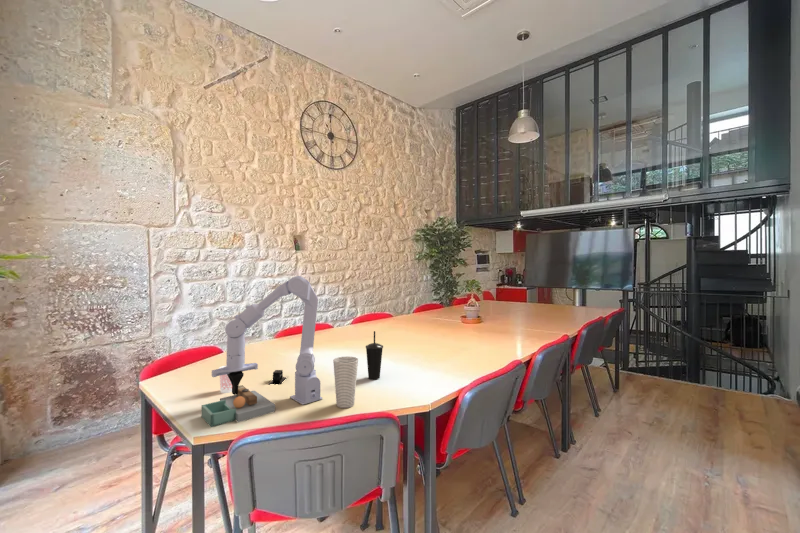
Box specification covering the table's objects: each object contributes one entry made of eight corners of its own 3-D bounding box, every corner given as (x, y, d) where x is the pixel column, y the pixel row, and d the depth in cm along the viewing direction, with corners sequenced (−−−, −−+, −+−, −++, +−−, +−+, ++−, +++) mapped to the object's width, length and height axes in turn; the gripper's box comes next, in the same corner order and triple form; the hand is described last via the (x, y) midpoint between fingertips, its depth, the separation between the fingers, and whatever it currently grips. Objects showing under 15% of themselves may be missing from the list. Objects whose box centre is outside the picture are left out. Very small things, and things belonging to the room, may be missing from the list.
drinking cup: (382, 380, 143) (382, 333, 143) (364, 380, 143) (364, 332, 143) (383, 375, 151) (383, 329, 151) (366, 375, 151) (366, 329, 151)
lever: (257, 403, 111) (257, 394, 111) (249, 405, 109) (249, 396, 109) (242, 391, 122) (242, 383, 122) (234, 393, 120) (234, 385, 120)
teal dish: (235, 420, 105) (235, 408, 105) (210, 427, 100) (211, 415, 100) (225, 410, 112) (225, 399, 112) (201, 416, 107) (201, 405, 107)
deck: (274, 411, 111) (274, 404, 111) (237, 422, 103) (238, 414, 103) (254, 397, 124) (254, 390, 124) (219, 405, 116) (219, 398, 116)
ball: (246, 407, 108) (247, 396, 108) (235, 410, 106) (235, 399, 106) (243, 404, 111) (243, 393, 111) (231, 407, 109) (231, 396, 109)
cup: (327, 404, 117) (328, 359, 118) (348, 398, 123) (348, 355, 124) (342, 412, 111) (342, 364, 112) (362, 405, 117) (363, 359, 117)
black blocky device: (282, 387, 136) (282, 375, 136) (263, 387, 136) (263, 375, 136) (290, 377, 149) (290, 366, 149) (273, 377, 148) (273, 367, 148)
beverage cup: (239, 389, 131) (240, 353, 132) (224, 394, 126) (224, 356, 126) (229, 387, 134) (230, 351, 135) (214, 391, 129) (215, 354, 129)
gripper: (252, 349, 126) (251, 386, 126) (209, 355, 116) (208, 395, 116) (260, 352, 121) (259, 391, 121) (215, 359, 111) (214, 401, 111)
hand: (235, 393), depth 118 cm, fingers closed, pressing on lever
